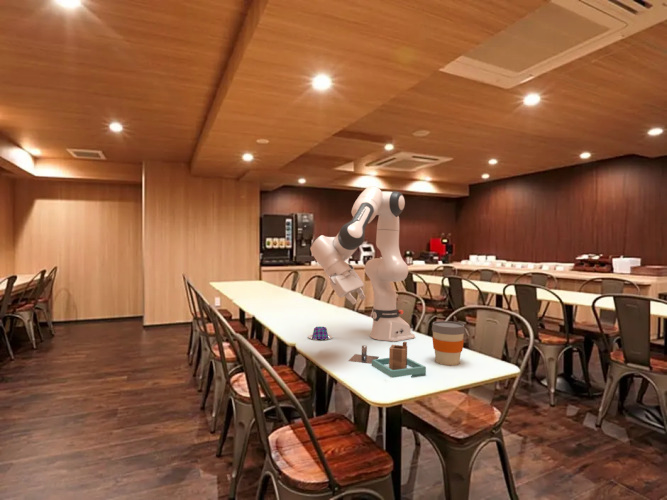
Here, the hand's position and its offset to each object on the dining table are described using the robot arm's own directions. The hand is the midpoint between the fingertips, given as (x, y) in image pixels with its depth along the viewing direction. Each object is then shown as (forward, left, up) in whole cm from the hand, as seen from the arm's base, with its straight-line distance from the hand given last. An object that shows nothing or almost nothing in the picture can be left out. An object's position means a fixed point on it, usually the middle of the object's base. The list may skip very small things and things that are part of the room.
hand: (359, 301), depth 148 cm
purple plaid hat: (-1, -44, -25) cm, 50 cm away
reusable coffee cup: (-35, +10, -24) cm, 43 cm away
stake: (-4, -2, -24) cm, 25 cm away
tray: (-10, +13, -24) cm, 29 cm away
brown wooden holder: (-10, +13, -23) cm, 28 cm away
